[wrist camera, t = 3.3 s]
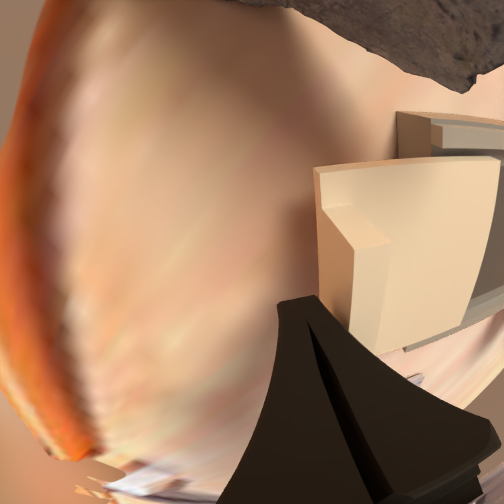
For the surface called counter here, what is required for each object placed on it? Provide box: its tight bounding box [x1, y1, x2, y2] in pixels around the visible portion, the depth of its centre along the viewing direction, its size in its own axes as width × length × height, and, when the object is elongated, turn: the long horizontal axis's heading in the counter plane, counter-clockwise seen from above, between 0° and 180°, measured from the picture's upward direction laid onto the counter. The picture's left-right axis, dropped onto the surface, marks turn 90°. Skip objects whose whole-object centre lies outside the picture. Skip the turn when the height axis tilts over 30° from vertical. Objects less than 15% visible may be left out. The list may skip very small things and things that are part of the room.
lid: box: [313, 156, 501, 356], centre depth 9 cm, size 9×8×3 cm
